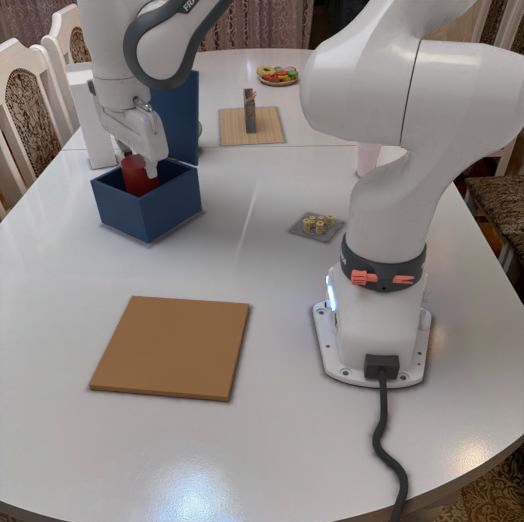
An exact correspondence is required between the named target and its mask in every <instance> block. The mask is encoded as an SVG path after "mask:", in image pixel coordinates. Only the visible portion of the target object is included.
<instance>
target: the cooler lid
mask: <svg viewBox="0 0 524 522" xmlns="http://www.w3.org/2000/svg"><path fill="white" fill-rule="evenodd" d="M149 89H150V94H151V99H150V101H149V102H148V103H149V104H150V105H151V107H152V110H153V111H155V112H156V113H157V114H158V115H159V117H160V119H161V121H162V124H163V128H164V132H165V136H166V141H167V145H168V151H169V153H168V156H167V157H170V158H173V159H176V160H179V161H178V162H181V163H184V164H187V165H190V166H193V167H198V166H199V155H198V147H199V145H200V143H199V141H200V140H199V139H200V137H199V121H200V119H199V118H200V105H199V104H200V100H199V99H200V71H199V70H195V69H192V70H191V72H190V75H189V76H188V78H187V80H186V81H185V82H184V83H183V84H182V85H181V86H179V87H177V88H175V89H173V90H169V91H159V90H154V89H152V88H149Z"/></svg>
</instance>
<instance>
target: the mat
mask: <svg viewBox="0 0 524 522" xmlns="http://www.w3.org/2000/svg"><path fill="white" fill-rule="evenodd" d="M249 310H250V303H248V302H247V303H246V302H234V301H233V302H231V301H217V300H203V299H202V300H201V299H187V298H173V297H172V298H171V297H161V296H160V297H158V296H143V295H142V296H141V295H131V297H130V299H129V302H128V303H127V305H126V308H125V310H124V312H123V313H122V315H121V317H120V319H119V321H118V324H117V326H116V327H115V330H114V332H113V334H112V335H111V338H110V340H109V343H108V344H107V346H106V348H105V350H104V352H103V353H102V356H101V358H100V360H99V362H98V364H97V367H96V368H95V370H94V372H93V375H92V376H91V378H90V381H89V382H88V388H89V389H90V390H96V391H109V392H119V393H130V394H131V393H132V394H142V395H155V396H164V397H175V398H184V399H185V398H186V399H197V400H207V401H209V400H210V401H220V402H228V401H229V398H230V394H231V389H232V386H233V381H234V377H235V373H236V369H237V362H238V359H239V355H240V350H241V345H242V340H243V336H244V333H245V329H246V323H247V319H248V314H249Z"/></svg>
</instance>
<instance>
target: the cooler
mask: <svg viewBox="0 0 524 522" xmlns="http://www.w3.org/2000/svg"><path fill="white" fill-rule="evenodd" d="M156 169H157V176H158V181H159V187H158V188H156V189H154V190H152V191H151V192H149V193H147V194H145V195H143V196H142V197H140V198H138V197H136V196H133V195H131V194H129V193H127V190H126V186H125V182H124V177H123V173H122V169H121V165H119V166H116V167H115V168H113V169H111V170H109V171H106V172H105V173H102V174H101V175H98V176H96V177H94V178H92V179H90V180H89V182H90V186H91V190H92V194H93V197H94V200H95V203H96V207H97V211H98V214H99V218H100V222H101V223H102V224H104V225H106V226H108V227H111V228H113V229H115V230H117V231H119V232H121V233H124V234H126V235H127V236H130V237H132V238H135V239H136V240H139V241H141V242H144V243H145V244H147V245H149V244H150V243H152V242H153V241H155V240H157V239H158V238H160V237H162V236H163V235H165V234H166V233H168V232H170V231H172V230H173V229H174V228H176V227H178V226H179V225H180V224H182V223H184V222H186V221H187V220H189V219H190V218H192V217H193V216H195V215H196V214H198V213H199V212H201V211H203V207H202V204H203V203H202V197H201V188H200V180H199V171H198V170H199V169H198V167H196V166H193V165H190V164H187V163H184V162H182V161H175V160H172V159H169V158H165V159H163V160H160V161H158V163H157V167H156Z"/></svg>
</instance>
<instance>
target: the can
mask: <svg viewBox="0 0 524 522" xmlns="http://www.w3.org/2000/svg"><path fill="white" fill-rule="evenodd" d="M120 166H121V169H122V173H123V177H124V182H125V186H126V190H127V193H129V194H131V195H133V196H136V197H138V198H140V197H142V196H143V195H145V194H147V193H149V192H151V191H152V190H154V189H156V188H158V187H159V181H158V176H156V177H154V178H152V179H150V178H149V177H147V176H146V175H145V171H144V167H146V161H144V157H142V156H141V155H140V154H138V153H135V154H133V155H130V156H127V157H125V158H124V159H123V158H122V159H121V160H120Z"/></svg>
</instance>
